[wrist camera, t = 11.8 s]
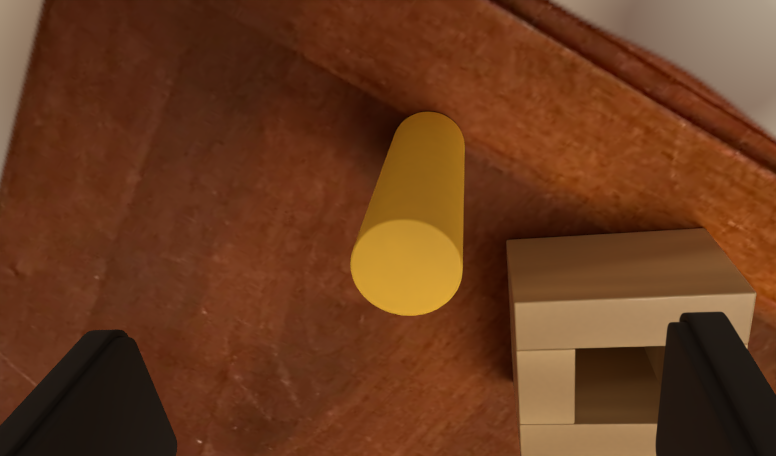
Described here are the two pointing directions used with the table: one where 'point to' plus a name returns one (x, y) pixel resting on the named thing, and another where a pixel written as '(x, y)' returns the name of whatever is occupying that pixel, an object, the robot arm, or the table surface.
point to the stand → (607, 332)
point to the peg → (414, 220)
